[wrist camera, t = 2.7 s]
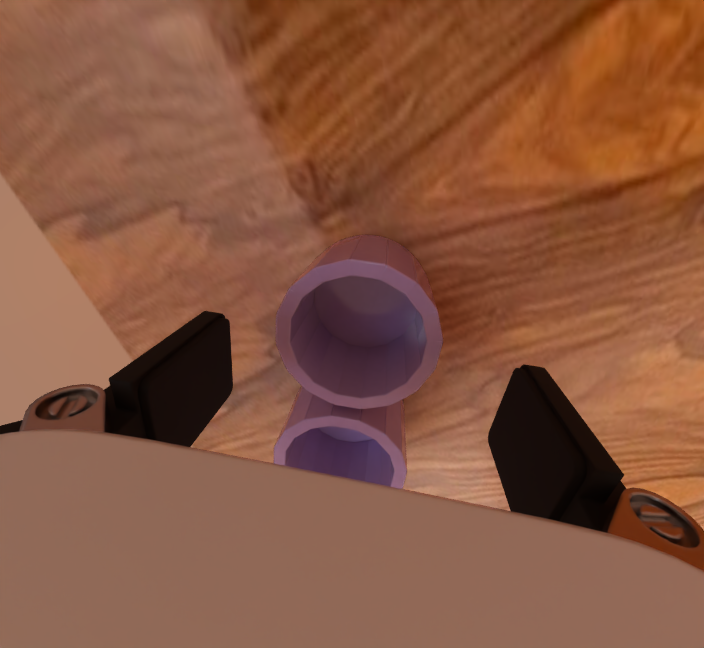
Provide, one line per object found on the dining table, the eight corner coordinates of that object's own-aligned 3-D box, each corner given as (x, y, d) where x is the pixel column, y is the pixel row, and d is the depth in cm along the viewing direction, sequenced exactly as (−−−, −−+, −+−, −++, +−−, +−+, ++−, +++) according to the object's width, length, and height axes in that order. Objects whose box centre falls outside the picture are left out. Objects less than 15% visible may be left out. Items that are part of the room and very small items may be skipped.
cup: (303, 340, 19) (274, 395, 14) (310, 225, 16) (276, 248, 11) (414, 358, 18) (421, 420, 14) (442, 244, 15) (462, 275, 11)
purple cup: (297, 431, 22) (272, 500, 17) (302, 349, 19) (274, 405, 14) (393, 448, 21) (393, 523, 17) (412, 367, 18) (418, 431, 14)
